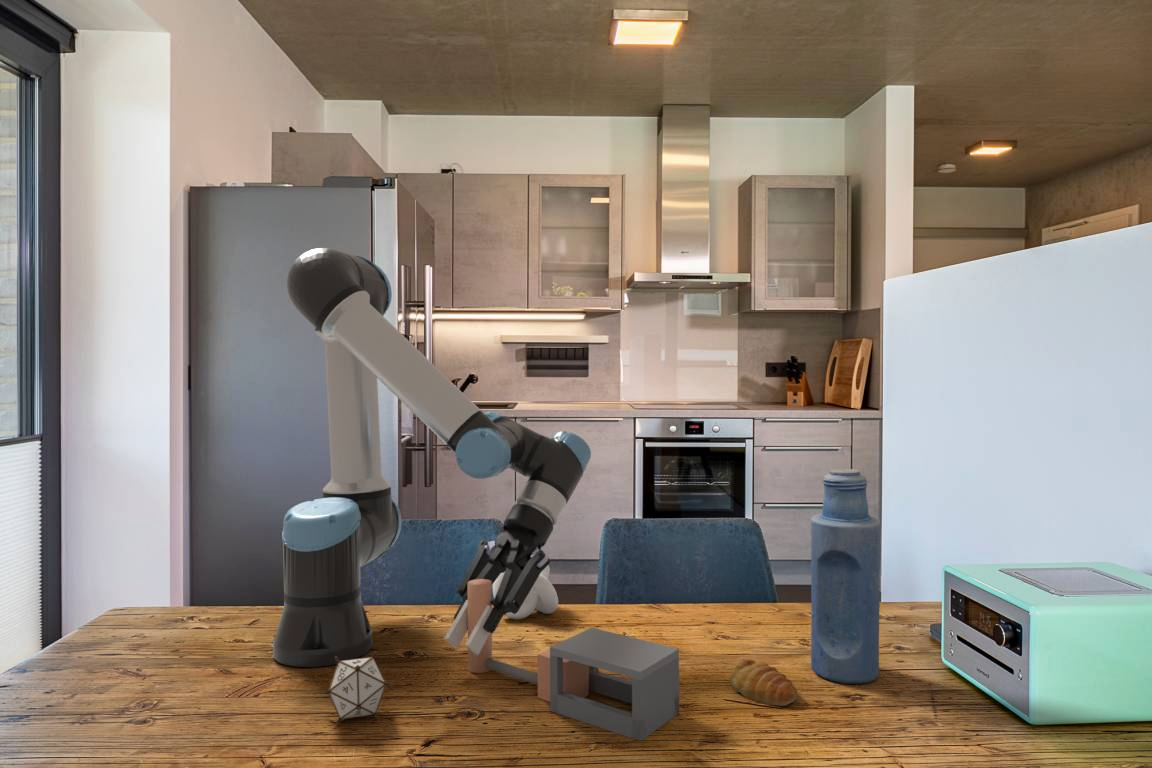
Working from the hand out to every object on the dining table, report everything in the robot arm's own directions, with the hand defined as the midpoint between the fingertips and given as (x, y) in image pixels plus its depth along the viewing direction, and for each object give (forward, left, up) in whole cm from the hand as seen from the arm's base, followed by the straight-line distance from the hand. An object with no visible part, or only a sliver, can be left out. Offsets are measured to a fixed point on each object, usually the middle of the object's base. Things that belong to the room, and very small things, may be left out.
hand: (461, 646), depth 115 cm
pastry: (+37, +21, -5) cm, 43 cm away
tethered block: (+8, +4, -5) cm, 10 cm away
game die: (-2, -17, -5) cm, 18 cm away
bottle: (+44, +35, -5) cm, 57 cm away
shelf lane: (+24, +4, -4) cm, 25 cm away
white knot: (-12, +29, -5) cm, 31 cm away
